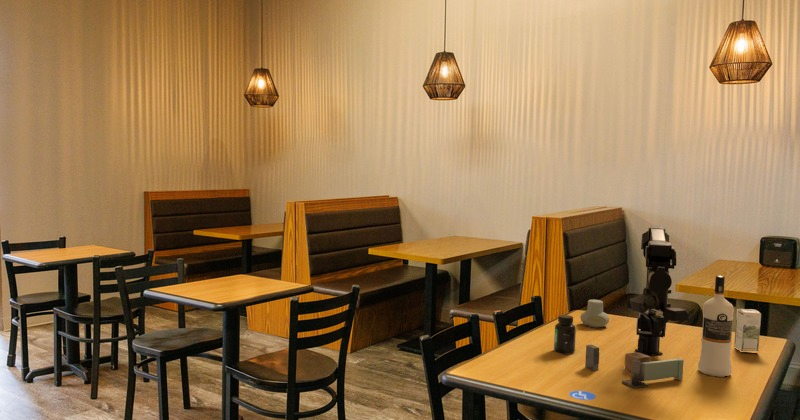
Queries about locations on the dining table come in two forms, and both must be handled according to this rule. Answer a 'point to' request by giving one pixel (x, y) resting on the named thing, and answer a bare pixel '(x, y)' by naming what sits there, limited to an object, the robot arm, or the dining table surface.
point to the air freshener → (594, 314)
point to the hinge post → (635, 377)
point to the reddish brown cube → (635, 356)
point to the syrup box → (747, 329)
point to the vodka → (716, 333)
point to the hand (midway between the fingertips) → (655, 337)
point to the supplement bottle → (564, 335)
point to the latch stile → (592, 357)
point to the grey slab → (661, 369)
